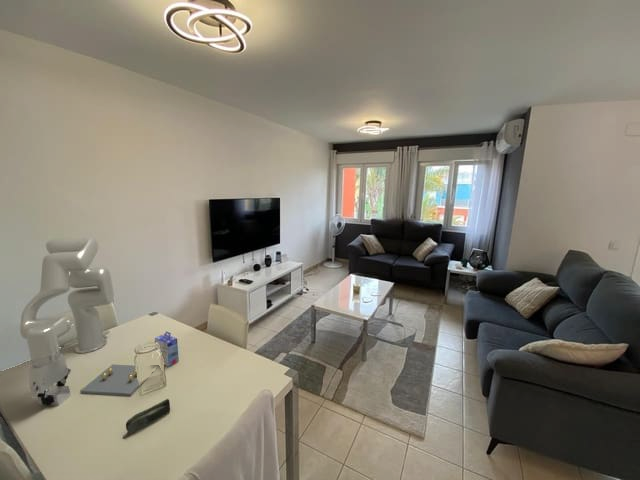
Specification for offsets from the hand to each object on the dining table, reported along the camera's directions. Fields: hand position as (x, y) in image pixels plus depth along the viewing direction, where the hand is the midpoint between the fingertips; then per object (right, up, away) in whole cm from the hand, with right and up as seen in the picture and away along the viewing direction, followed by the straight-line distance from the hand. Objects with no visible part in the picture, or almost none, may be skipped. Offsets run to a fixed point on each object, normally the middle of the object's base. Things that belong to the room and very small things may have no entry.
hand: (54, 398), depth 102 cm
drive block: (0, -1, 0) cm, 1 cm away
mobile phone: (+42, -4, -8) cm, 43 cm away
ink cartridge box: (+30, +3, +25) cm, 39 cm away
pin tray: (+17, +1, +11) cm, 21 cm away
